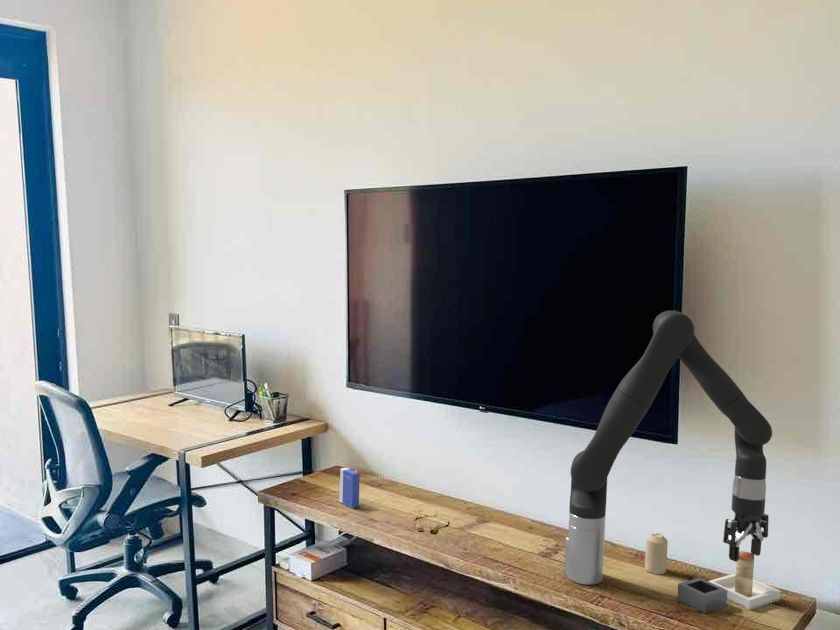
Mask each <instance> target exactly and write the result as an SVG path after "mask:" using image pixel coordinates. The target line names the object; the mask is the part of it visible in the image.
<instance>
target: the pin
mask: <svg viewBox="0 0 840 630" xmlns="http://www.w3.org/2000/svg"><path fill="white" fill-rule="evenodd" d="M754 568H755V555H754V554H752V553H751V552H749V551H745V550H744V551H742V550H741V551H740V550H739V560H738V561H736V563H735V573H736V576H735V592H737V593H739V594H741V595H744V596H746V597H750V596H752V585H753V579H754Z"/></svg>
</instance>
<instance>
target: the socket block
mask: <svg viewBox="0 0 840 630" xmlns="http://www.w3.org/2000/svg"><path fill="white" fill-rule="evenodd" d="M709 581H710V580H706V579H704V578H701V577H698V578H693V579H689V580H686V581H683V582H680V583H678V584H677V597H676V598H677V600H678V601H680V602H681V603H684V604H686V605H688V606H690V607H692V608H694V609H696V610H697V611H700V612H702V613H703V614H706V613H709V612H712V611H715V610H718V609H722V608H725V607H727V606H728V604H727V603H728V600H727V590H726V589H724V588H722V587H720V586H717V585H715V584H713V583H711V582H709Z"/></svg>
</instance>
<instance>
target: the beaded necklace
mask: <svg viewBox="0 0 840 630" xmlns="http://www.w3.org/2000/svg"><path fill="white" fill-rule="evenodd" d="M424 514H425V515H424V516H427V515H426V514H427V513H424ZM435 514H436V515H435V516H437V515H438V514H437V513H435ZM421 515H422V514H420V515H418V516H416V517H417V518H418V517H419V516H420V517H422V516H421ZM416 517H414V519H413V520H414V522H415V523H416V524H415V523H414V524H415V529H416V530H417V532H418V531H423V532H425V530H424V527H422V526H423V525H422V524H420V523H417V521H416V519H415V518H416ZM421 525H422V526H421ZM440 526H441V525H439V526H437V525H432V526H431V527H432V528H430V530H429V533H430V534H433V533H435V532H436V533H437V531H438V530H437V529H439V527H440ZM440 528H441V527H440ZM431 532H432V533H431Z"/></svg>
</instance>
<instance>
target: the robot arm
mask: <svg viewBox="0 0 840 630" xmlns="http://www.w3.org/2000/svg"><path fill="white" fill-rule="evenodd" d="M694 326H695V325H694V323H693V320H692V319H691V318H690V317H689V316H688V315H687V314H684V313H683V312H681V311H678V310H672V309H671V310H665V311H662V312H661V313H660V314H658V315H657V316H656V317H655V319H654V321H653V324H652V332H653V335H652V337H651V339H650V342H649V344H648V346H647V347H646V349H645V351H644V353H643V355H642V356H641V357H640V358H639V360H638V361H637V362H636V364H634V365H633V367H632V368H631V369H630V370H629V371H628V372H627V374H625V376H624V377H623V378H622V379H621V380H620V383H619V384H618V385H617V387H616V389H615V391H613V394H612V395H611V397H610V399H609V400H608V403H607V405H606V406H605V409H604V412H603V414H602V416H601V419H600V420H599V423H598V425H597V429H596V431H595V432H594V435H593V437H592V439H591V440H590V441H589V443H588V445H587V446H586V447H585V448H584V450H582V451H579V453H577V454H576V455H575V456H574V457H573V460H572V462H571V467H570V478H571V482H570V494H569V495H570V496H569V511H568V512H569V515H568V516H569V517H568V537H566V538H565V546H564V564H563V565H564V567H563V569H564V570H563V573H564V574H565V575H566V577H567V579H568V580H570V581H571V582H574V583H577V584H580V585H588V586H589V585H597V584H600V583H602V582H603V577H604V576H603V575H604V573H603V572H604V558H605V557H604V556H605V537H606V536H605V535H606V533H605V532H606V515H607V514H606V511H607V497H608V496H607V492H608V488H607V487H608V476H609V474H610V472H611V469H612V467H613V465H614V463H615V461H616V459H617V457H618V455H619V453H620V451H621V450H622V448H623V447H624V446H625V444H626V443H627V442H628V440H629V439H630V437H632V435H633V433H634V432H635V431H636V429H637V428H638V426H639V425H640V423H641V421H642V420H643V419H644V417H645V416H646V415H647V413H648V410H649V409H650V408H651V406H652V404H653V402H654V400H656V399H655V398H656V397H657V395H658V392H659V391H660V389H661V388H662V386H663V383H664V382H665V379H666V377H667V375H668V374H669V372H670V370H671V369H672V367H673V366H674V364H676V362H677V360H678V359H679V360H680V361H681V362H682V364H684V365H685V367H686V368H687V369H688V371H689V372H690V373H691V375H692V376H693V377H694V379H695V380H696V381H697V383H698V384H699V385H700V387H701V389H702V390H703V391H704V392H705V394H706V395H707V396H708V398H709V399H710V400H711V401H712V403H713V404H714V405H715V406H716V408H717V409H718V410H719V411H720V412H721V413H722V414H723V415H724V416H725V417H726V418H728V419H729V421H730V422H731V424H732V425H733V426H734V431H733V432H734V444H735V445H734V446H735V464H734V465H735V468H734V477H733V482H732V492H731V493H732V497H731V510H732V511H733V512H734V517H733V519H729V518H726V519H725V521H724V530H723V531H724V532H723V538H722V540H723V541H722V542H723V543H725V544H727V545H729V547H728V549H729V550H728V558H729V559H730V560H731V561H732V562H736V561H738V560H739V551H740V545H741V543H742V541H744V540H745V539H746V537H747V536H749V535H750V536H751V538H752V539H751V540H750V541H751V545H750V553H752V554H753V555H754V556H758V557H759V556H760V555H761V551H762V542H763V541H764V538H766V539H767V538H768V536H769V519H770V518H769V514H766V513H765V511H766V509H765V507H766V494H767V484H766V482H767V481H766V476H767V458H766V456H765V454H764V446H765V445H766V444H768V443H769V442H770V440H771V439H772V437H773V436H772V435H773V428H772V425H771V424H770V422H769V421H768V420H767V418H765V416H764V415H763V414H762V413H761V412H760V411H759V410H758V409H757V408H756V407H755V406H754V405H753V404H752V403H751V402H750V401H749V399H748V398H747V396H745V394H744V392H743V391H742V389H740V388H739V386H738V385H737V383H736V382H735V381H734V380H733V379H732V377H730V375H729V374H728V373H727V372H726V371H725V370H724V369H723V368H722V366H720V364H718V362H716V361H715V359H714V358H712V356H711V355H710V354H709V353H708V352H707V350H706V349H705V348H704V347H703V345H702V344H701V343H700V341H699V339H698V338H697V336H696V335H695V327H694ZM762 528H763V530H762ZM730 560H729V561H730Z"/></svg>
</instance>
